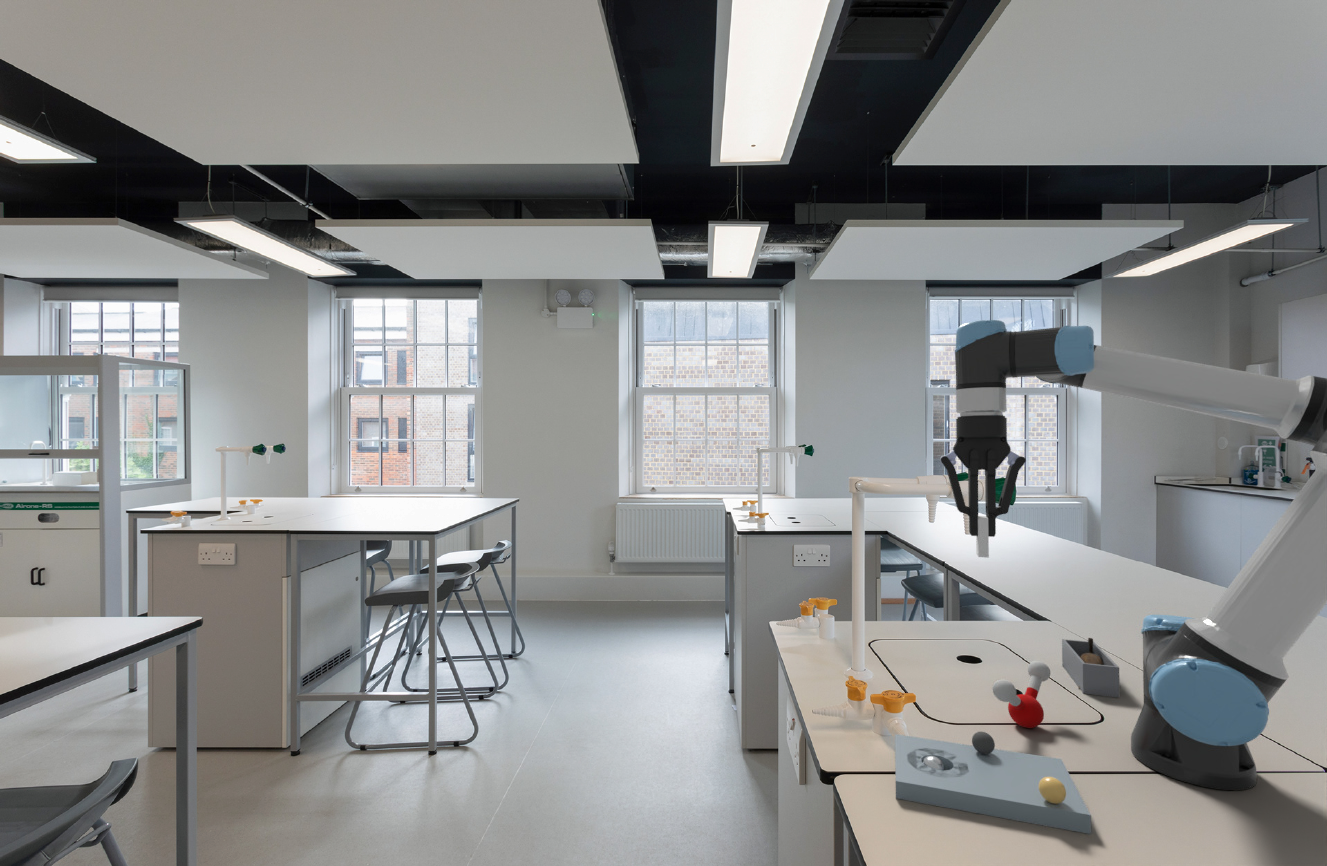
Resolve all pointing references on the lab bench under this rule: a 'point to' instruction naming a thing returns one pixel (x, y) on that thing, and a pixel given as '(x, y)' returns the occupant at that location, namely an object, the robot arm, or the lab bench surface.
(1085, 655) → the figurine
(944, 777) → the plate
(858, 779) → the lab bench surface
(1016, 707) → the molecular model
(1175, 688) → the robot arm
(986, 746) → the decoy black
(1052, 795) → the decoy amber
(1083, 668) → the open storage box
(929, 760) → the steel ball
